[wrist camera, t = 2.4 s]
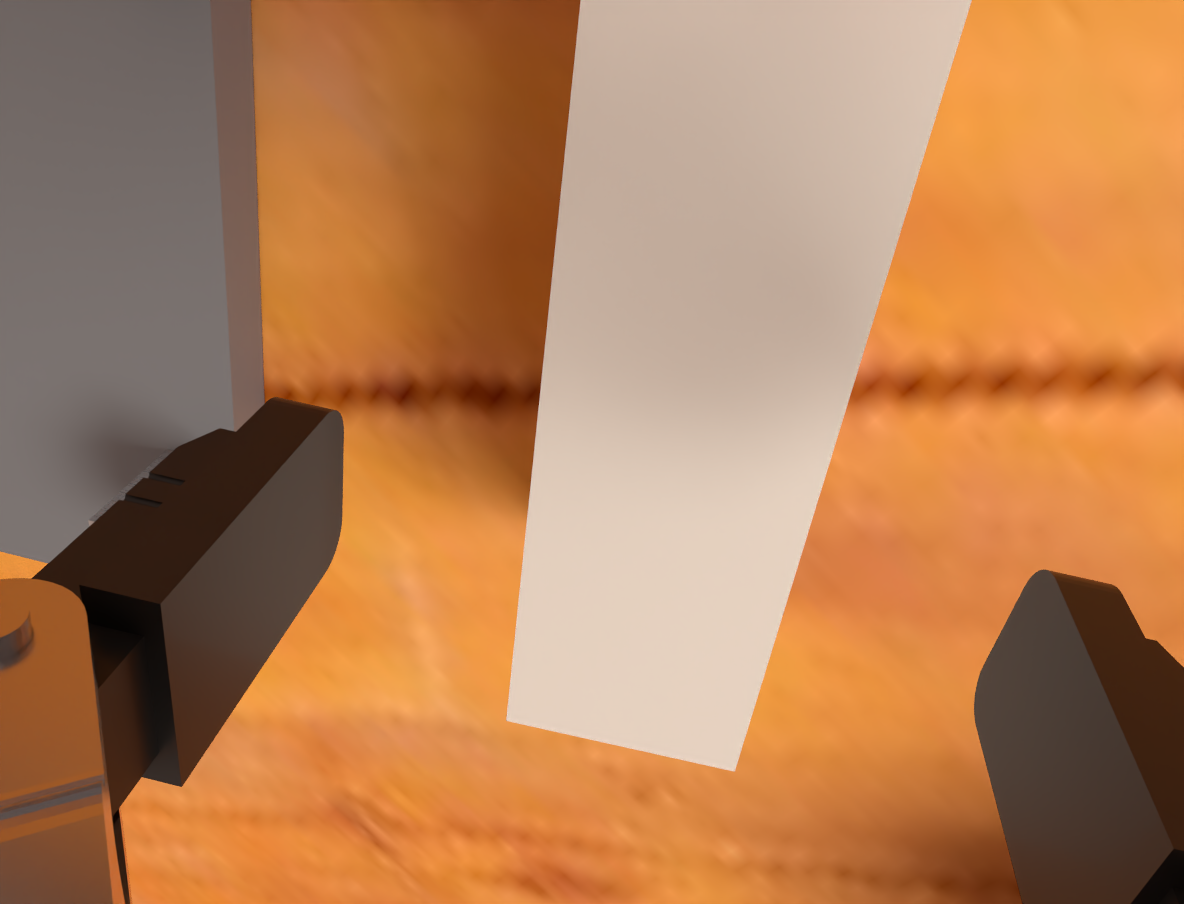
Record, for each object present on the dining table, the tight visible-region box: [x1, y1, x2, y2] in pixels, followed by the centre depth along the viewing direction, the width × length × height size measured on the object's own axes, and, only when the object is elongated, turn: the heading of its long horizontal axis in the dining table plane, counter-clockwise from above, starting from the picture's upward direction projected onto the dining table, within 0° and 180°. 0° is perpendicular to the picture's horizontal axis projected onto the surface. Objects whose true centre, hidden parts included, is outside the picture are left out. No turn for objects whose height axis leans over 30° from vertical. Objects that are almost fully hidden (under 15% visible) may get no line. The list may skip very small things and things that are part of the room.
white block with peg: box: [506, 0, 972, 772], centre depth 15 cm, size 16×4×10 cm, turn 173°
